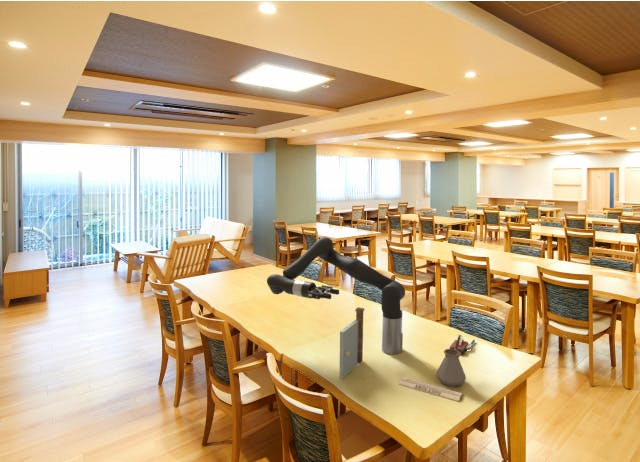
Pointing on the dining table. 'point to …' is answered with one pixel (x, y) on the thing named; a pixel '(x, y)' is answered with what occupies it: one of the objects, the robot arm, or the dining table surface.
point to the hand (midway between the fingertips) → (335, 294)
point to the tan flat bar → (430, 389)
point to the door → (348, 348)
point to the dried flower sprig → (462, 346)
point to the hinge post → (360, 332)
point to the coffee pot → (451, 367)
